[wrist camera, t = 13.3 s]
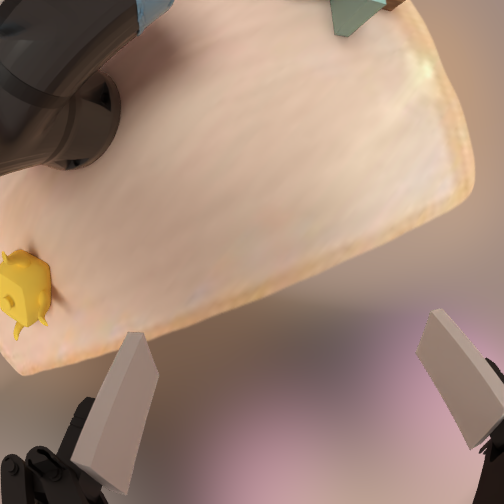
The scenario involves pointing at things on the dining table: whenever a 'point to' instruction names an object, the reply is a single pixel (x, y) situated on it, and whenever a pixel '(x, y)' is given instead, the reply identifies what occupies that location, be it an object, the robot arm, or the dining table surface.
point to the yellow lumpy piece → (24, 289)
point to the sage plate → (353, 14)
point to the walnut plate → (392, 4)
